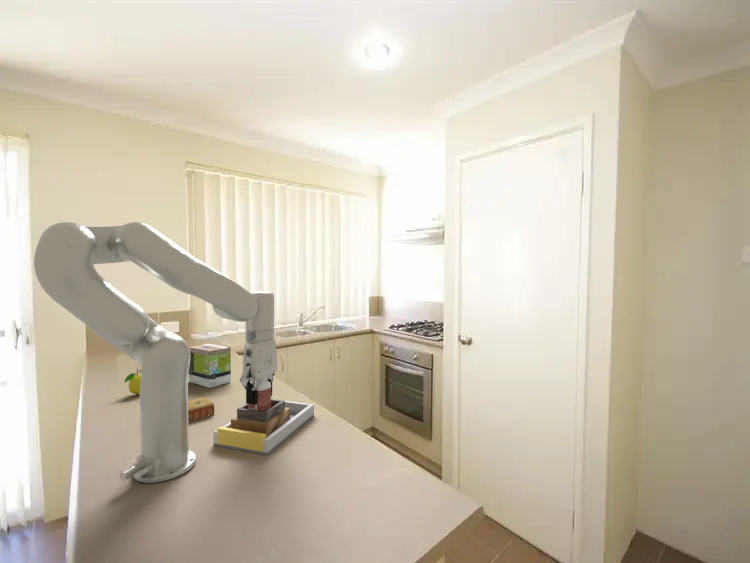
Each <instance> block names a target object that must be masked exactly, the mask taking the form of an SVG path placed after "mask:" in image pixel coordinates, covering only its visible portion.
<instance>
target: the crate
mask: <svg viewBox="0 0 750 563" xmlns="http://www.w3.org/2000/svg"><path fill="white" fill-rule="evenodd" d="M285 401H286V400H281V399H276V400H275V399H274V398H271V408H270V409H268V410H267V411H258V410H251V409H248V404H246V403H245V404H243V405H241V406H239V407H238V408H237V409H236V416H234V417H233V418H231V419H230V422H231V428H232V429H238V430H244V431H250V432H256V433H262V434H266V438H267V437H268V436H269V435H271V434H272V433H273V432H274V431H276V430H277V429H278V428H280V427H281V426H282V425H284V424H285V423H286V422H288V421H289V420H290V408H287V407H285Z"/></svg>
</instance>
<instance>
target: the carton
mask: <svg viewBox="0 0 750 563" xmlns="http://www.w3.org/2000/svg"><path fill="white" fill-rule="evenodd" d="M212 414H214V415H215V403H214V402H213V401H212V400H211V399H209V398H208V397H206V396H201V397H198V398H195V399H190V400H189V399H188V421H189V422H192V421H191V420H193V421H195V420H194V419H197V420H199V419H198V418H200V419H202V418H201V417H204V418H206V417H205V416H208V415H211V416H213V415H212ZM208 417H209V416H208Z"/></svg>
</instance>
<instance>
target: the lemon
mask: <svg viewBox="0 0 750 563" xmlns="http://www.w3.org/2000/svg"><path fill="white" fill-rule="evenodd" d="M139 372H140V374H139ZM123 383H128V390H129V393H132V394H135V396H138V395H139V396H140V384H141V370H140V369H138V368H136V372H134V373H133V372H132V373H130V374H128V375H127V376H126V377H125V379H124V382H123Z"/></svg>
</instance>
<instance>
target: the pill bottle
mask: <svg viewBox="0 0 750 563" xmlns="http://www.w3.org/2000/svg"><path fill="white" fill-rule="evenodd" d="M251 378H253V377H252V376H251ZM267 380H268V376H267V377H265V378H263V379H261V380H258V382H257V386H256V390H257V404H256V405H251V404H248V409H251V410H258V411H267V410H268V409H270V408H271V399H272V396H271V383H270V382H269V381H267ZM250 383H251V384H252V385H253V380H251V381H250Z"/></svg>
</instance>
